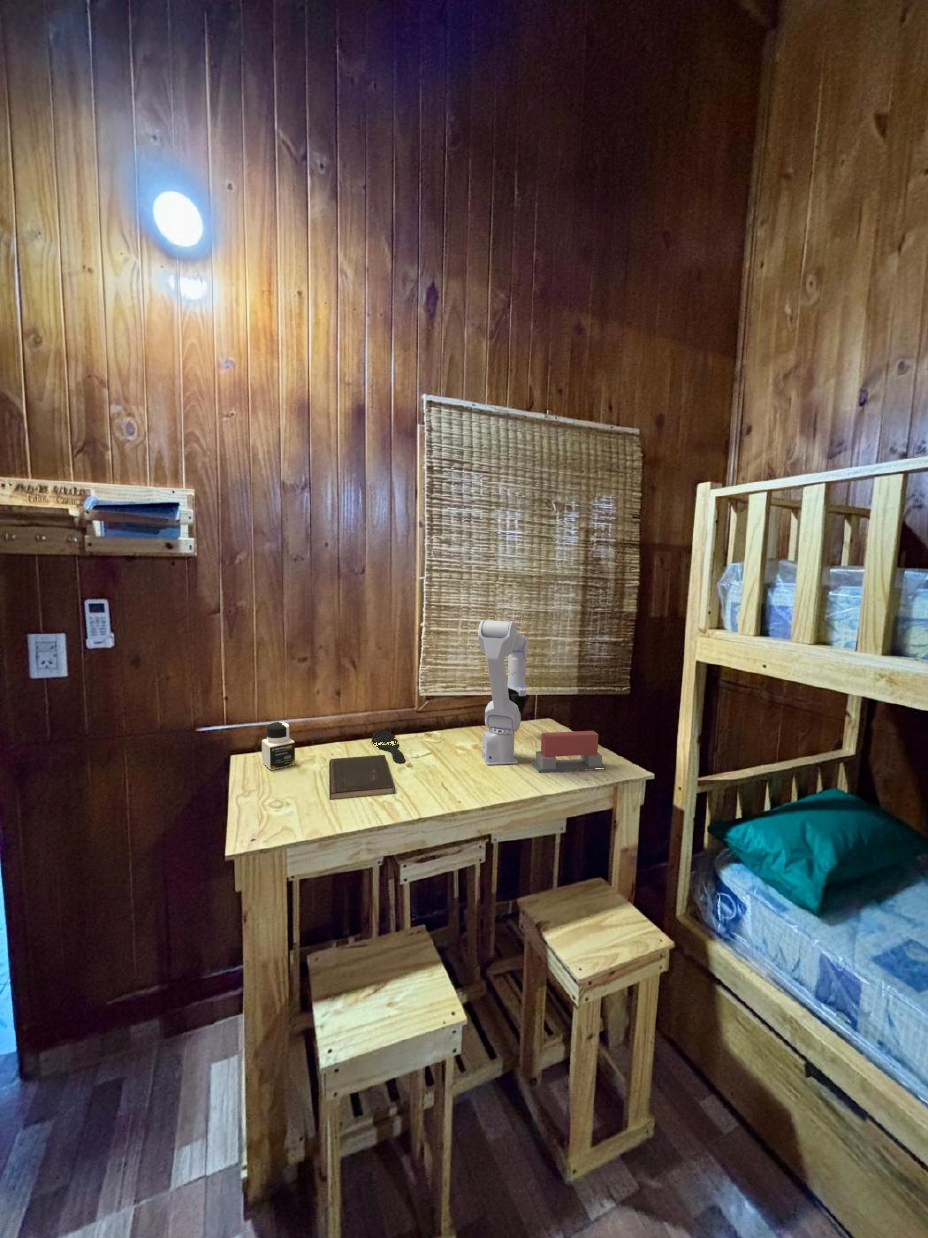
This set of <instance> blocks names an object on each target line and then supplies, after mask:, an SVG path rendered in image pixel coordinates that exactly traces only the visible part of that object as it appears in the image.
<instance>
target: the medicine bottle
mask: <svg viewBox="0 0 928 1238" xmlns="http://www.w3.org/2000/svg"><path fill="white" fill-rule="evenodd" d="M261 762H262V763H261V764H263V765H264V766H265V765H266V766H267V767H268V768H267V767H266V766H265V767H266V768H267V769H268V770H269V769H270V770H269V771H271V770H272V771H275V769H276V770H279V769H278V768H280V769H283V768H282V767H285V768H287V767H286V766H289V767H292V766H291V765H293V766H296V742H295V740H293V739H292V738H290V725H289V723H287V722H284V721H277V722H272V723H269V724H268V725H267V726H266V738H263V739H262V740H261Z"/></svg>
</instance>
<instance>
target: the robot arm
mask: <svg viewBox="0 0 928 1238" xmlns="http://www.w3.org/2000/svg"><path fill="white" fill-rule="evenodd" d="M517 627H518V626H517V623H516V622H515V621H514V620H511V621H510V620H509V621H507V620H506V621H505V620H488V619H482V620H481V621H480V623H479V625H478V629H477V630H478V632H477V637H478V645H479V649H480V652H481V653H482V654H483V655H485V659H486V663H487V669H488V670H487V671H488V676H489V677H488V678H489V683H490V691H491V699H492V700H491V701H489V702H488V703H487V705H486V707H485V710H484V724H485V726H486V728H487V729H488V730H486V731H482V735H481V737H482V739H481V741H482V743H481V757H482V759H483V762H485V764H486V765H487V766H493V765H494V766H495V765H514V764H515V765H516V764H519V761H518V759H516V757H515V732H518V731H519V729H520V728H521V719H522V718H521V717H522V716H523V714H524V711H525V707H526V705H527V702H528V700H529V699H530V695H529V694H526V693H527V690H526V688H529V686H530V685H529V684H528V683H526V668H527V667H526V666H527V664H526V663H527V658H528V650H529V645H530V644H529V637H527V636H526V635H523V634H521V633H520V631H519V630H518V628H517ZM506 657H508V659H507V660H508V661H507V669H506V661H505V659H506Z"/></svg>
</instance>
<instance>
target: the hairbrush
mask: <svg viewBox="0 0 928 1238" xmlns="http://www.w3.org/2000/svg"><path fill="white" fill-rule="evenodd" d="M394 738H396V739H394ZM380 740H381V741H380ZM391 741H394V744H396V743H397V742H398V743H399V741H398V739H397V737H396V736H395V735H394V734H393V733H392V732H391V731H390V730H389V731H388V730H387V729H384V727H381V729H376V731H375V730H374V731H373V732H372V737H371V743H372V742H373V744H374V743H376V742H377V745H378V743H380V742H383V743H384V742H386V743H387V742H391ZM395 741H396V743H395ZM383 743H382V744H383ZM386 743H385V744H386ZM373 744H372V745H373ZM382 744H381V745H378V746H376V747H378V748H379V749H378V750H380V749H384V750H383V751H387V750H389V751H390V753H391V756H392V760H393V762H394V763H396V764H398V765H402V764H405V761H406V759H405V755H404V753H403V752H402V751H401V750H400V749H399V747H398V744H397V745H396V746H395V745H393V746H392V744H391V743H390V744H391V745H390V744H389V745H388V744H387V745H382ZM374 745H376V744H374ZM376 747H375V748H376Z"/></svg>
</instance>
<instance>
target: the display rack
mask: <svg viewBox="0 0 928 1238" xmlns="http://www.w3.org/2000/svg"><path fill="white" fill-rule="evenodd" d="M531 763H532V766H533V768H534V769H535V770H536V771H537V772H538V773H541V772H543V773H556V772H557V773H558V772H560V773H561V772H573V771H575V772H576V770H579V771H586V770H585V769H595V768H605V769H606V765H605V764H604V763H603V755H602V754H600V753H599V752H598V754H597V755H580V758H577V759H576V758H574V759H573V758H572V759H557V757H544V756H543V754H542V753H541V750H539V751H537V750H536V751H535V761H533V760H532V762H531Z"/></svg>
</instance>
